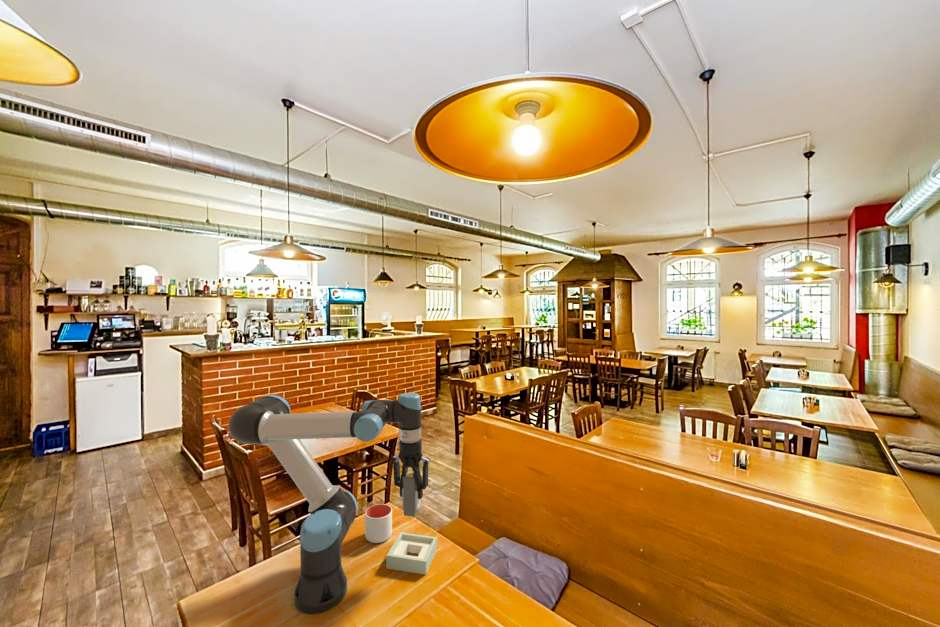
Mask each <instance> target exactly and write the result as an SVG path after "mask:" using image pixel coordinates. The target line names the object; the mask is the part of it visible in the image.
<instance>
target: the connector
mask: <svg viewBox="0 0 940 627" xmlns="http://www.w3.org/2000/svg"><path fill="white" fill-rule="evenodd" d="M416 489H417V486H416V481H415V476H414V471H413V470H408V472H407V474H406V475H405V476H404V477H403V504H404V508H403V516H405V517H407V516H408V517H412V518H415V517H416V516H417V515H418V513H419V512H420V507H419V508H418V510H415V490H416Z"/></svg>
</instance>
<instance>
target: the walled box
mask: <svg viewBox="0 0 940 627" xmlns="http://www.w3.org/2000/svg"><path fill="white" fill-rule="evenodd" d="M437 550H438V537H436V536H428V535H424V534H418V533H417V534H415V533H408V532H401V531H400V533H399V535H398V536H397V537H396V539H395V541H394V542H393V544H392V546H391V547H390V549H389V551H388V552H387V554H386V556H385V557H386V558H385V559H386V560H385V561H386V562H385V563H386V567H385V568H386V569H388V570H394V571H399V572H406V573H412V574H418V575H425V576H426V575H427V574H428V571H429V569H430V567H431V564H432V562H433V559H434V558H435V555H436V553H437ZM408 553H412V554H417V555H418V556H416V555H409V554H408Z"/></svg>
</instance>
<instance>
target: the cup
mask: <svg viewBox="0 0 940 627" xmlns="http://www.w3.org/2000/svg"><path fill="white" fill-rule="evenodd" d="M392 533H393V508H392V507H391V506H390V505H389V504H384V503H377V504H373V505H371V506H369V507H368V508H366V510H365V512H364V537H365V539H366V541H368V543H369V542H370V543H372V544H380V543H383V542H386V541H388V539H390V537H391V535H393V534H392Z"/></svg>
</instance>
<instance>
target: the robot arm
mask: <svg viewBox="0 0 940 627" xmlns="http://www.w3.org/2000/svg"><path fill="white" fill-rule="evenodd" d="M397 398H398V399H393V400H391V399H387V400H386V399H384V400H383V399H382V400H380V399H379V400H377V399H373V400H365V401H364V402H363V403H362V406H361V411H342V412H341V411H340V412H336V411H335V412H334V411H333V412H307V413H306V412H305V413H304V412H301V413H291V407H290V404H289V402H288V401H287V400H286V399H285V398H284V397H282V396H279V395H277V394H268V395H264V396H260V397H259V398H257V399H254V400H253V401H251V402H249V403H248V404H245V405H243V406H241V407H239V408H237V409H236V410H235V411H234V412H233V413H232V414H231V416H230V418H229V421H228V426H227V427H228V433H229V435H230V436H231V438H232V439H233V440H234V441H236V442H238V443H241V444H245V445H261V446H267V447H269V449H270V450H271V451H272V453H273V454H274V456H275V458H276V459H277V460H278V461H279V463H280V464H281V466H282V467H283V468H284V470H285V471H286V472H287V474H288V476H289V477H290V478H291V479H292V481H293V482H294V484H295V485H296V487H297V488H298V490H299V491H300V492H301V493H302V495H303V497H304V498H305V500H306V501H307V502H308V503H309V505H308V510H307V512H309V514H310V515H308V516H307V518H305V519H304V520H303V522H302V524H301V528H300V535H299V548H300V558H299V559H300V574H299V578H298V581H297V584H296V587H295V590H294V595H293V598H294V599H293V600H294V606H295V608H296V609H297V611H300V612H302V613H304V614H309V615H311V614H319V613H323V612H326V611H328V610H330V609H333V608H334V607H335V606H337V605H338V604H339V603H341V601H343V599H344V597H345V596H346V594H347V592H348V579H347V576H346V574H345V571H344V568H343V565H342V544H343V542H344V540H345V538H346V536H347V534H348V533H349V530H350V529H351V526H352V525H353V523H354V521H355V519H356V516H357V512H358V502H357V499H356V497H355V496H354V494H353V493H351V492H350V491H348V490H345V489H342V488H341V487H340V486H339V485H338V484H337V485H335V484H334V485H333V484H332V483H331V481H330V480H329V478H328V476H326V474H325V472H324V471H323V470H322V469H321V467H320V466H319V464H318V463H317V461H316V460H315V459H314V457H313V456H312V454H311V453H310V452H309V451H308V449H307V448H306V446H305V444H304V443H303V442H302V440H310V439H312V440H314V439H315V440H316V439H317V440H318V439H344V438H348V439H349V438H356V439H357V440H359V441H361V442H366V443H368V442H372V441H373V440H375V439H376V438H377V437H378V436H379V435H380V434H381V433H382V432H383V428H384V427H385V425H386V424H398V439H399V442H398V444H399V445H398V446H399V447H398V451H399V453H398V454H394V456H392V457H391V463H392V464H393V465H392V467H393V485H394V486H395V487H399V497H400V498H401V499H402V501H401V503H402V504H401V505H402V509H404V504H403V477H404V476H405V475H406V474H407V472H408V471H409V468H411V469H412V470H411V471H414V476H415V481H416V486H417V489H416V490H415V510H418V508H419V509H420V507H421V500H422V498H423V495H424V494H423V492H424V490H425V489H426V488H427V487H428V485H429V465H430V462H431V458H430V457H427V458H426V457H425V456H423V452H422V447H423V446H422V405H421V396H420V395H419V394H418V393H416V392H405V393H401V394H399V395H398V397H397ZM400 461H401V463H402V466H401V465H400ZM420 462H421V464H422V465H421V466H422V470H420V469H421V468H420V467H421V466H420ZM421 471H422V473H421Z"/></svg>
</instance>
